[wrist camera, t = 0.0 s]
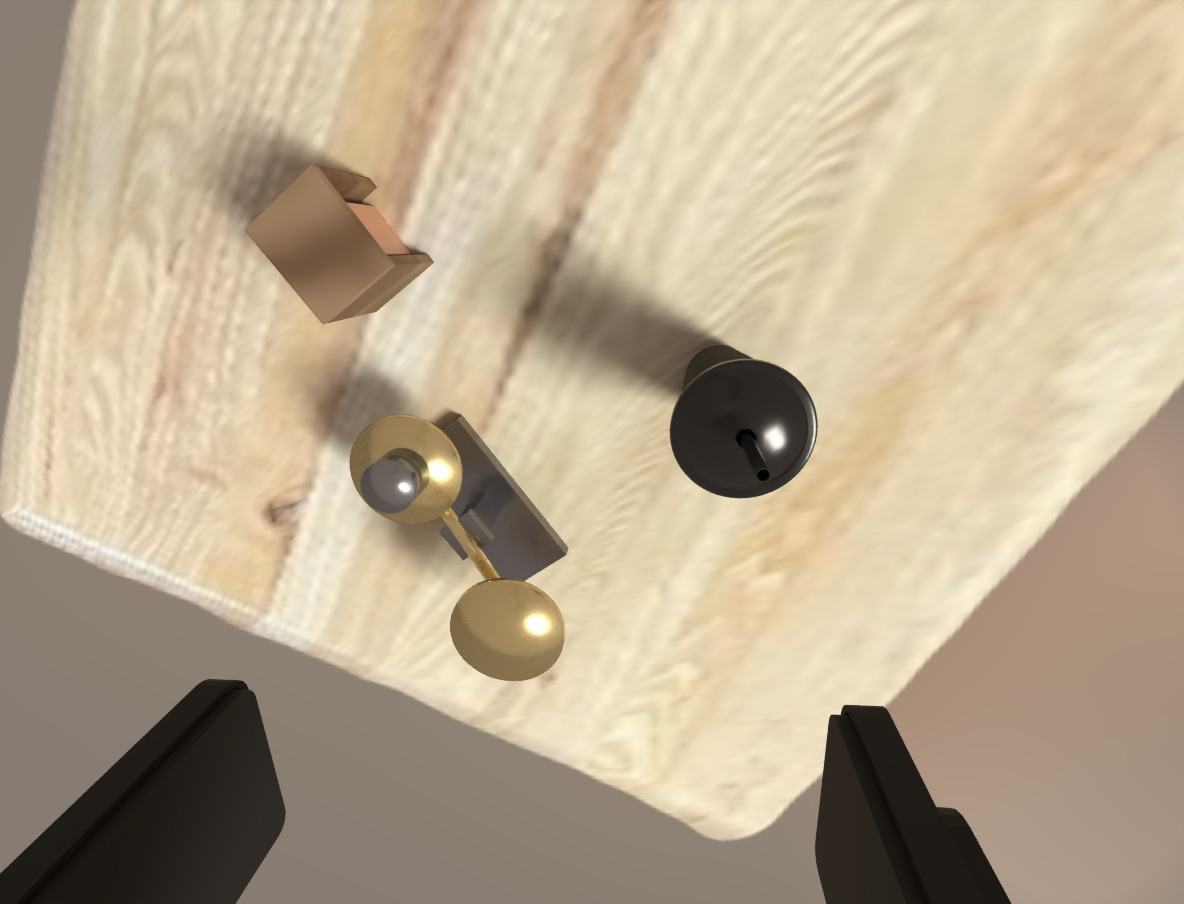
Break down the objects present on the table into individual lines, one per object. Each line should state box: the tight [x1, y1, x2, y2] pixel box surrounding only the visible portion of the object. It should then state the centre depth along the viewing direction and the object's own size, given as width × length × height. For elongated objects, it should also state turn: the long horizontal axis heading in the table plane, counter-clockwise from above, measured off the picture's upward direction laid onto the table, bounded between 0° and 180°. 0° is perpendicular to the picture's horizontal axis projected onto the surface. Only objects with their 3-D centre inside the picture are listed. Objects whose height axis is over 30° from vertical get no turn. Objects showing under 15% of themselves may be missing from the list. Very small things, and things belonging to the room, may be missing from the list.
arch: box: [245, 165, 434, 324], centre depth 40 cm, size 7×6×8 cm
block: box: [346, 202, 411, 256], centre depth 42 cm, size 4×4×6 cm
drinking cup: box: [670, 346, 818, 498], centre depth 35 cm, size 8×8×20 cm
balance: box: [350, 415, 568, 681], centre depth 45 cm, size 21×8×10 cm, turn 36°
